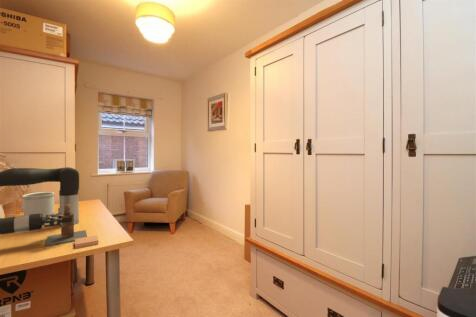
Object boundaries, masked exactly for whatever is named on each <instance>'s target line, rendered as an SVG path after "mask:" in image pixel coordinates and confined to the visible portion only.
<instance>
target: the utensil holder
mask: <svg viewBox="0 0 476 317" xmlns="http://www.w3.org/2000/svg"><path fill="white" fill-rule="evenodd" d="M21 198H22V206H23V208H22V210H23V215H30V214H39V213H41V214H42V217H46V215H51V214H55V192H53V191H40V192H38V191H37V192H32V193H27V194H23V195H21Z"/></svg>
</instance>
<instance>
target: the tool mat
mask: <svg viewBox="0 0 476 317" xmlns="http://www.w3.org/2000/svg"><path fill="white" fill-rule="evenodd" d="M87 234H88V233H87V230H86V229H84V230H77V231H74V237H70V238H64V239H61V233H60V234H59V233H58V234H54V235H53V234H52V235H47V237H46V243H45V247H52V246H56V245H62V244H66V243H67V244H68V243H75V239H78V238H84V237H88V235H87Z"/></svg>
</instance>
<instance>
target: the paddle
mask: <svg viewBox="0 0 476 317" xmlns="http://www.w3.org/2000/svg"><path fill="white" fill-rule="evenodd" d="M68 217H72V222H67V223H62V224H61V225H60V227H61V228H60V231H61V233H60V234H61V239H64V238H70V237H74V232H75V226H74V225H75V224H74V214H70V204H67V205H64V215H61V218H68Z"/></svg>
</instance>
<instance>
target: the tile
mask: <svg viewBox="0 0 476 317" xmlns="http://www.w3.org/2000/svg"><path fill="white" fill-rule="evenodd" d="M96 245H99V238H98V235H92V236H91V235H90V236H87V237H84V238H78V239H75V241H74V249H81V248H84V247H90V246H96Z"/></svg>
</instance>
